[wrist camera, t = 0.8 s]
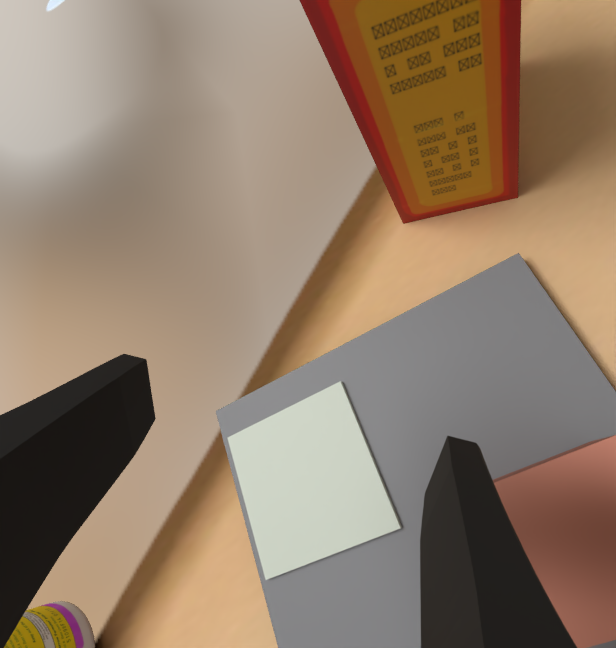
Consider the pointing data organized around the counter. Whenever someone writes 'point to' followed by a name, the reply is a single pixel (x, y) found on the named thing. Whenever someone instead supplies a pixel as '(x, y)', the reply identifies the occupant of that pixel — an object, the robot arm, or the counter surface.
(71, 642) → the supplement bottle
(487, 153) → the baking soda box
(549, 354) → the board
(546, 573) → the rimmed copper cube
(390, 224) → the counter surface
